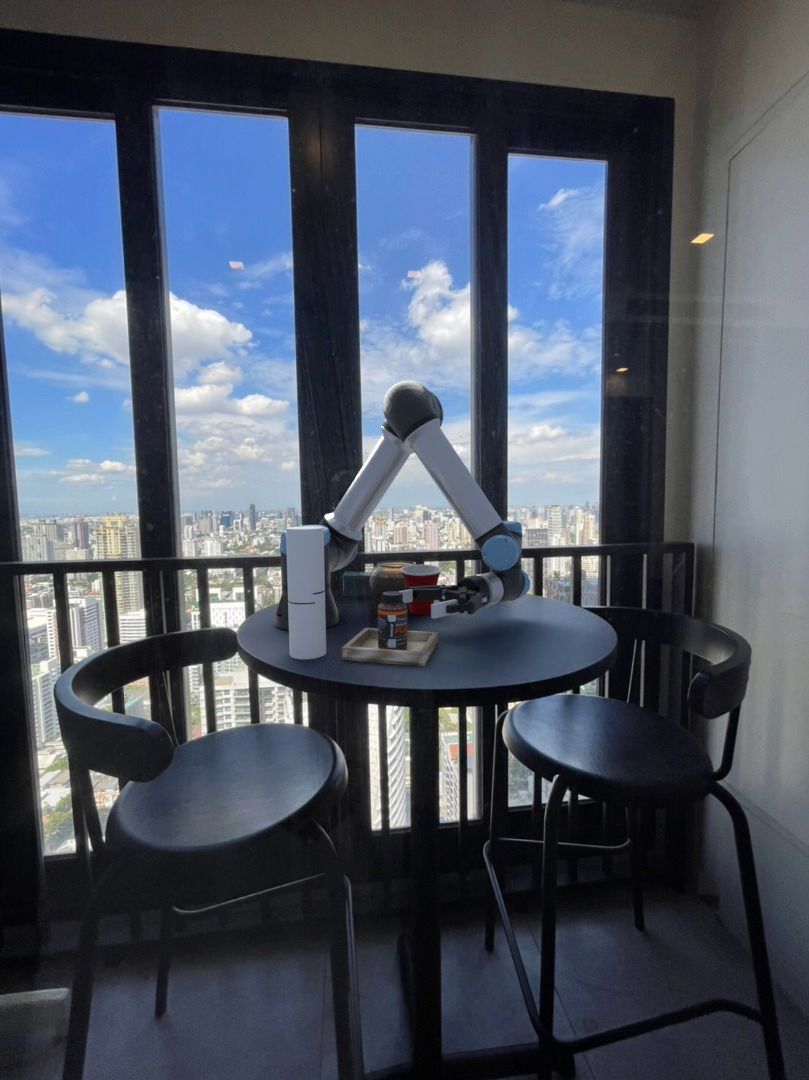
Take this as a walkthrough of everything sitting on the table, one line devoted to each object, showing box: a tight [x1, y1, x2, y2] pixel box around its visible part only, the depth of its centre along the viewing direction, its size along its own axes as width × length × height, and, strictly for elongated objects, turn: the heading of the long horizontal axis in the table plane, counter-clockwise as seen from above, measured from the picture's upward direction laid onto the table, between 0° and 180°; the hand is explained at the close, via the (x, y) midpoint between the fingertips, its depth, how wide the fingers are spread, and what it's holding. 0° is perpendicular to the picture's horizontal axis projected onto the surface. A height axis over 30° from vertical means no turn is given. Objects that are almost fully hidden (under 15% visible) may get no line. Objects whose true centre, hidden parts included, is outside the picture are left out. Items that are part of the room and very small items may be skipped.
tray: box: [341, 627, 439, 667], centre depth 99 cm, size 16×14×2 cm
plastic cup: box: [400, 564, 442, 616], centre depth 130 cm, size 11×11×12 cm
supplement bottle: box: [377, 590, 408, 650], centre depth 99 cm, size 6×6×11 cm
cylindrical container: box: [285, 526, 327, 660], centre depth 97 cm, size 7×7×25 cm
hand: (409, 605), depth 101 cm, fingers open, 13 cm apart
